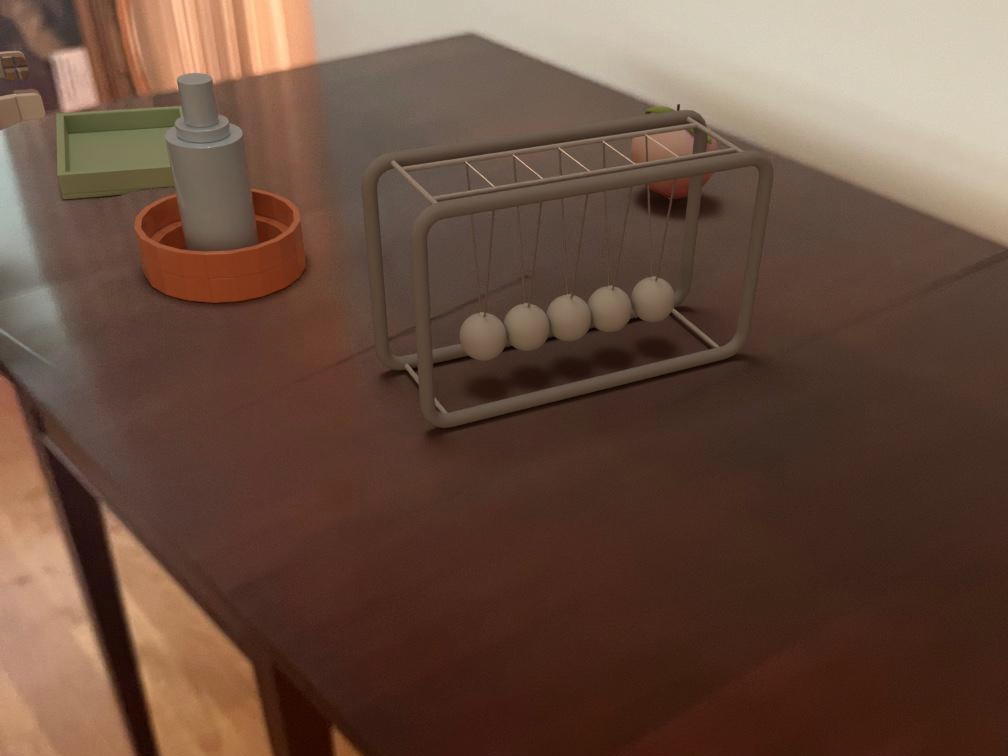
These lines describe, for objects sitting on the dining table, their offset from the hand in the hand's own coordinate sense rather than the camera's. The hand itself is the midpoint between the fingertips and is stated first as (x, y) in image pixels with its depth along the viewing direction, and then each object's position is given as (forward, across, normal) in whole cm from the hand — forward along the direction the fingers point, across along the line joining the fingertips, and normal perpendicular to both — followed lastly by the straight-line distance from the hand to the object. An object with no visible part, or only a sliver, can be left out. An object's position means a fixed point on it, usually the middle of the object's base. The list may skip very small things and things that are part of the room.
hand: (34, 83), depth 91 cm
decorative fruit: (+59, 0, -18) cm, 61 cm away
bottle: (+12, 0, -17) cm, 21 cm away
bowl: (+12, 0, -18) cm, 21 cm away
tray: (+9, -29, -18) cm, 35 cm away
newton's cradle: (+34, +27, -18) cm, 47 cm away
